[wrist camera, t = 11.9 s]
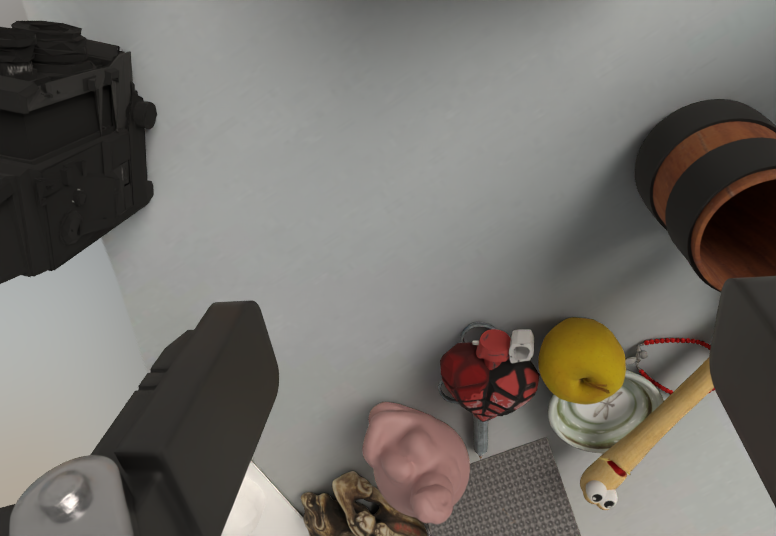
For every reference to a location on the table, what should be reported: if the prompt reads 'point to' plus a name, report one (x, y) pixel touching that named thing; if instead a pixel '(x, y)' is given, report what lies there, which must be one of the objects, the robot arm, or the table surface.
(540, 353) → the apple
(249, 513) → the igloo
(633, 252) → the table surface
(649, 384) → the saucer
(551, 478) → the grey studded plate
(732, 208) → the mug
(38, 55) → the camera
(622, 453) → the novelty tool
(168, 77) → the table surface
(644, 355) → the necklace
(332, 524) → the figurine
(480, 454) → the scissors
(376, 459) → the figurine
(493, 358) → the grenade
